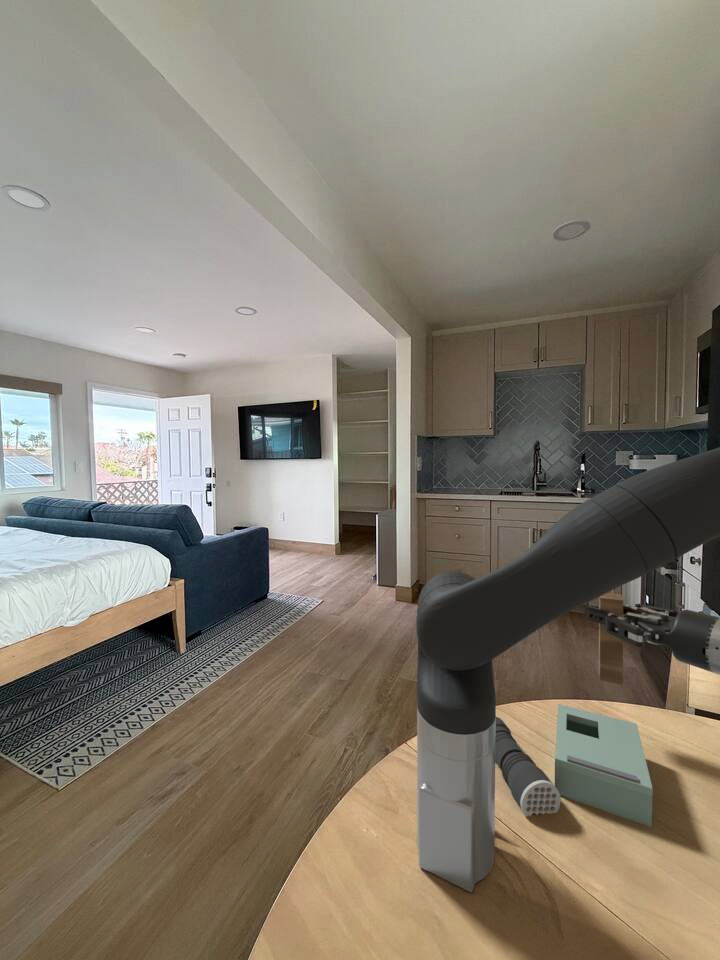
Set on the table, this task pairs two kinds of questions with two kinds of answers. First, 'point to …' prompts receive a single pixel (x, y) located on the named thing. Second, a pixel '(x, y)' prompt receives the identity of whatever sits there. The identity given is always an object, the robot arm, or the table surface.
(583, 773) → the peg-in-hole base
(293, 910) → the table surface
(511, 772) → the flashlight
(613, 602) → the wooden peg
